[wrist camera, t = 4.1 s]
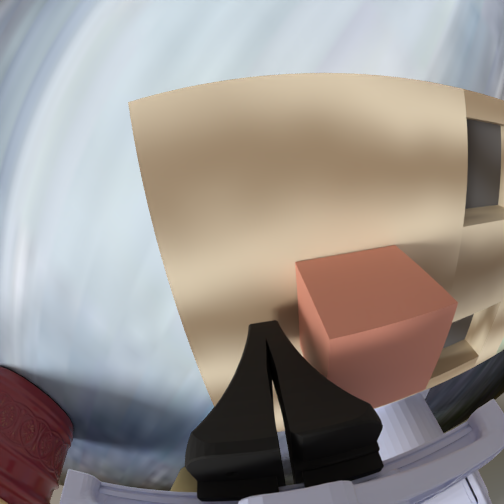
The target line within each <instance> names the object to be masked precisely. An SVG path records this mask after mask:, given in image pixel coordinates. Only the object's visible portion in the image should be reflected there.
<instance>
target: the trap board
mask: <svg viewBox="0 0 504 504" xmlns="http://www.w3.org/2000/svg"><path fill="white" fill-rule="evenodd" d="M128 103H129V110H130V117H131V123H132V129H133V135H134V141H135V146H136V151H137V157H138V162H139V167H140V172H141V176H142V181H143V186H144V190H145V194H146V199H147V203H148V207H149V211H150V215H151V219H152V223H153V227H154V231H155V235H156V239H157V243H158V246H159V250H160V253H161V257H162V260H163V264H164V267H165V271H166V274H167V277H168V281H169V284H170V287H171V290H172V294H173V297H174V300H175V303H176V306H177V309H178V312H179V315H180V318H181V321H182V324H183V327H184V330H185V333H186V335H187V338H188V341H189V344H190V347H191V349H192V352H193V355H194V357H195V360H196V363H197V365H198V368H199V370H200V373H201V375H202V378H203V381H204V383H205V385H206V388H207V390H208V393H209V395H210V398H211V400H212V402H213V405H214V407H215V405H216V404H217V403H218V401H219V400H220V398H221V397H222V395H223V394H224V392H225V390H226V389H227V387H228V385H229V384H230V382H231V380H232V378H233V376H234V374H235V372H236V369H237V367H238V364H239V362H240V359H241V357H242V354H243V351H244V347H245V344H246V340H247V336H248V326H249V325H250V324H254V323H260V322H266V321H272V320H276V321H278V322H279V325H280V327H281V328H282V330H283V332H284V333H285V335H286V336H287V338H288V339H289V340H290V342H291V343H292V344H293V346H294V347H295V348H296V349H297V351H298V352H299V353H300V354H301V355H302V356H303V354H302V350H301V347H300V337H299V316H298V299H297V283H296V268H295V262H299V261H305V260H311V259H317V258H323V257H329V256H335V255H341V254H347V253H353V252H358V251H364V250H370V249H376V248H381V247H387V246H392V245H396V246H397V247H398V248H399V249H400V250H402V251H403V252H404V253H405V254H406V255H407V256H409V257H410V258H411V259H412V260H413V261H414V262H415V263H417V264H418V265H419V266H420V267H421V268H422V269H423V270H424V271H425V272H427V273H428V274H429V275H430V276H431V277H432V278H433V279H434V280H435V281H436V282H437V283H438V284H440V285H441V286H442V287H443V288H444V289H445V290H446V291H447V292H448V293H449V294H450V295H451V296H452V297H453V298H454V299H455V300H456V301H457V302H458V305H457V308H456V312H455V315H454V318H453V321H452V324H451V327H450V330H449V333H448V336H447V338H446V341H445V344H444V347H443V349H442V352H441V354H440V357H439V359H438V362H437V364H436V366H435V369H434V371H433V373H432V376H431V378H430V380H429V382H428V384H427V387H426V389H425V390H427V389H429V388H431V387H434V386H436V385H438V384H440V383H443V382H445V381H447V380H449V379H451V378H453V377H455V376H457V375H459V374H461V373H463V372H465V371H467V370H469V369H471V368H473V367H475V366H476V365H478V364H480V363H482V362H484V361H485V360H487V359H489V358H491V357H492V356H494V355H496V354H497V353H499V352H501V351H502V350H504V101H503V100H500V99H497V98H494V97H491V96H487V95H484V94H480V93H477V92H473V91H469V90H465V89H461V88H457V87H452V86H447V85H443V84H437V83H432V82H426V81H420V80H414V79H406V78H399V77H390V76H379V75H366V74H347V73H302V74H281V75H268V76H257V77H248V78H240V79H232V80H225V81H219V82H213V83H207V84H201V85H196V86H191V87H186V88H181V89H177V90H172V91H168V92H164V93H160V94H156V95H152V96H149V97H145V98H141V99H138V100H134V101H131V102H128ZM272 385H273V402H274V416H275V423H276V429H277V432H280V431H285V428H284V422H283V417H282V413H281V409H280V405H279V402H278V398H277V395H276V391H275V388H274V384H273V380H272ZM423 391H424V390H423ZM420 392H422V391H420ZM420 392H418V393H420ZM415 394H417V393H415ZM415 394H413V395H415ZM410 396H412V395H410ZM408 397H409V396H408ZM405 398H407V397H405ZM403 399H404V398H403ZM400 400H402V399H400ZM397 401H399V400H397ZM394 402H396V401H394ZM392 403H393V402H392ZM389 404H391V403H389ZM386 405H388V404H386ZM383 406H385V405H383ZM380 407H382V406H380ZM377 408H379V407H377ZM374 409H376V408H374Z"/></svg>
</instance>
